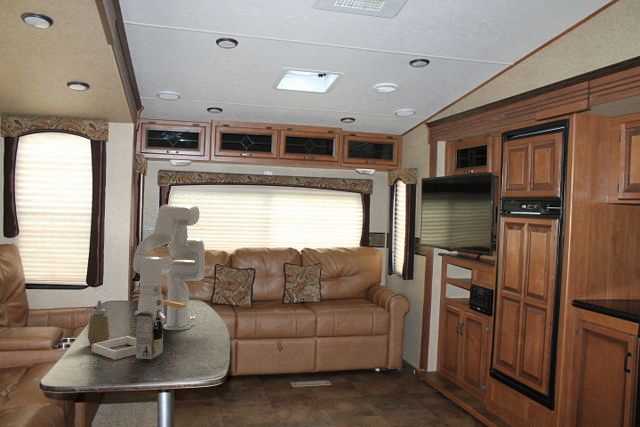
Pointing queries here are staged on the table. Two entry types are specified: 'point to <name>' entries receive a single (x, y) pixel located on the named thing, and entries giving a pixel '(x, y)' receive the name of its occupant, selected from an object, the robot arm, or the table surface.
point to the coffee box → (147, 337)
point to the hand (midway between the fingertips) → (149, 336)
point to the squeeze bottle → (98, 325)
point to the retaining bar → (174, 304)
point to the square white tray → (104, 346)
